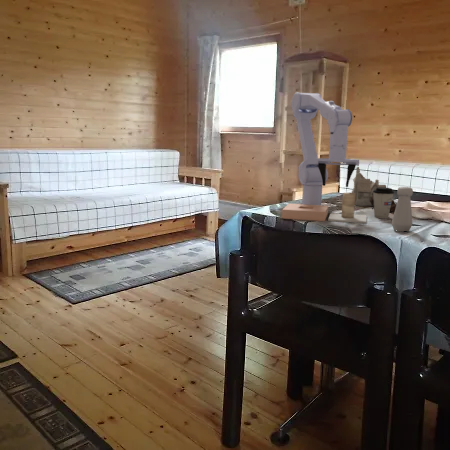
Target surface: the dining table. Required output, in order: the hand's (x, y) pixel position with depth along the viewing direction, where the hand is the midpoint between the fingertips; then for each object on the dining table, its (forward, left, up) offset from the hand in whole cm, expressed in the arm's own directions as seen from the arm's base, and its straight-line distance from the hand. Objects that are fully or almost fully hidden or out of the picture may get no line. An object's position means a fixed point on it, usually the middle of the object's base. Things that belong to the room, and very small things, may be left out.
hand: (335, 186), depth 159 cm
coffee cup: (-3, +16, -11) cm, 19 cm away
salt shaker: (+19, +21, -11) cm, 30 cm away
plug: (+5, +5, -10) cm, 12 cm away
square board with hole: (+5, -9, -10) cm, 15 cm away
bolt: (-21, +18, -11) cm, 29 cm away
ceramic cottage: (-35, +11, -11) cm, 39 cm away
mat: (+5, +5, -10) cm, 12 cm away
